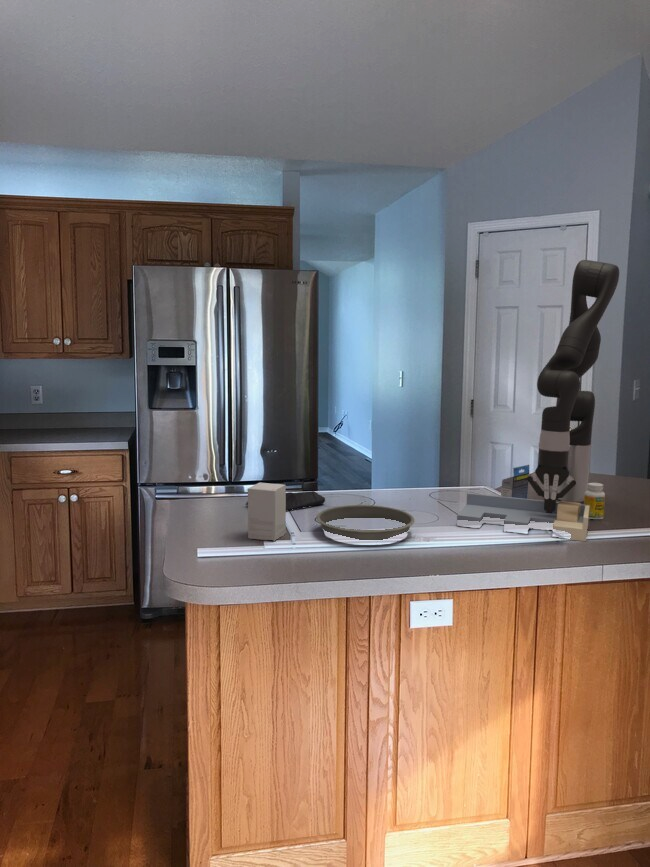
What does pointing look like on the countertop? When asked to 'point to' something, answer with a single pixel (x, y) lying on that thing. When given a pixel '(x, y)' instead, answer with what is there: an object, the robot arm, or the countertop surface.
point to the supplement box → (266, 511)
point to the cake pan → (365, 512)
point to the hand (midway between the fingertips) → (549, 512)
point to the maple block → (568, 511)
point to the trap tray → (521, 513)
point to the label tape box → (516, 483)
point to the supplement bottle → (595, 500)
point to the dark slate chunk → (302, 500)
